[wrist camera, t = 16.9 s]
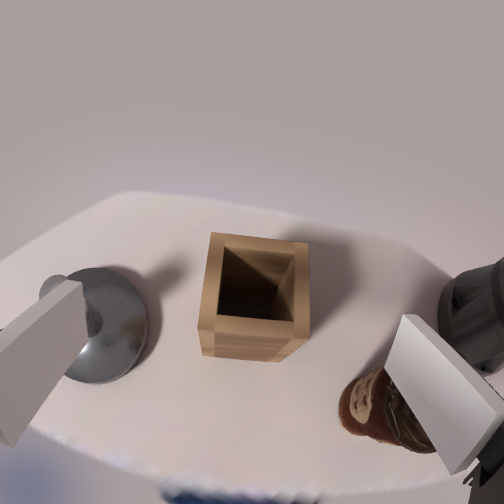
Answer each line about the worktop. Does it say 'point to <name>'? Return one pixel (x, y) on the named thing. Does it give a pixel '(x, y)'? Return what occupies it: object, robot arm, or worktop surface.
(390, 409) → the coffee cup
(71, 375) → the post stand
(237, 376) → the worktop surface
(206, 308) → the sleeve
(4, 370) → the robot arm
